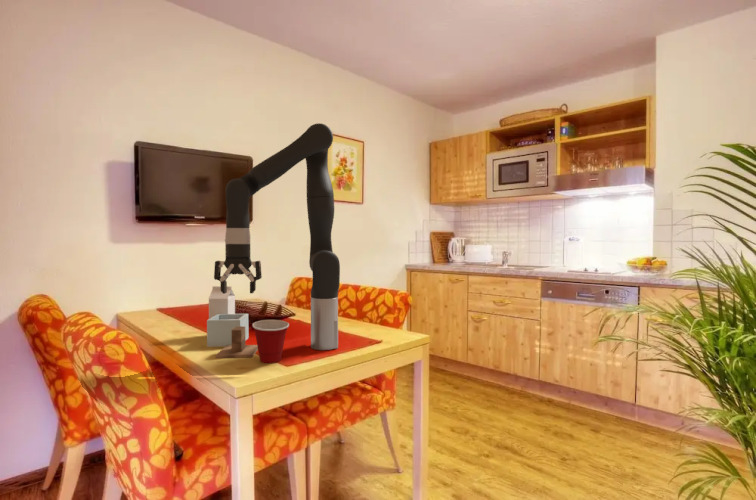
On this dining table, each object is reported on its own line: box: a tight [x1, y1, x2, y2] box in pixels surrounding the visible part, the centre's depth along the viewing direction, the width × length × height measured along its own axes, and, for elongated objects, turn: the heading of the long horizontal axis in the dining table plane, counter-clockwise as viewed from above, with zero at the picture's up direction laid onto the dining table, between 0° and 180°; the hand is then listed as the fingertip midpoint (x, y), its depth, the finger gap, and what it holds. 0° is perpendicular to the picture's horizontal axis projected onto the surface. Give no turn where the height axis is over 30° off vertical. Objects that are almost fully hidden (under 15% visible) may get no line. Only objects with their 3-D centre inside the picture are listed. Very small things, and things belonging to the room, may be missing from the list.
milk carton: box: [208, 285, 236, 319], centre depth 149 cm, size 7×7×19 cm
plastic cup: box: [251, 319, 290, 364], centre depth 119 cm, size 11×11×12 cm
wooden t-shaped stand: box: [215, 327, 258, 359], centre depth 127 cm, size 11×11×8 cm
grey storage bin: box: [206, 313, 250, 348], centre depth 140 cm, size 11×11×10 cm
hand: (238, 293), depth 127 cm, fingers open, 8 cm apart
